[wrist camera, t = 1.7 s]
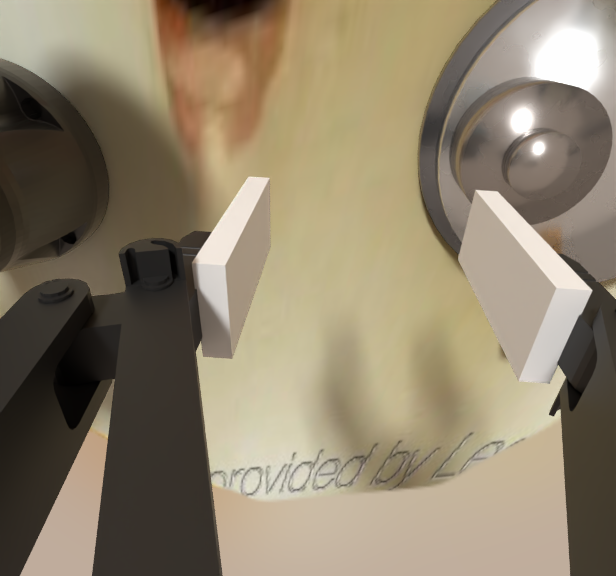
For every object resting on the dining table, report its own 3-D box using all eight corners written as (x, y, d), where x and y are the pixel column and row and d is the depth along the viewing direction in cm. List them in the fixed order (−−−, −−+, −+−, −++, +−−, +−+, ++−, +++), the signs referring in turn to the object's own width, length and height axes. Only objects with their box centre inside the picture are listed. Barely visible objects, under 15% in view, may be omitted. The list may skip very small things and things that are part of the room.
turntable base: (396, 268, 35) (398, 275, 34) (454, -70, 24) (459, -75, 23) (666, 286, 34) (676, 294, 33) (861, -56, 23) (884, -61, 22)
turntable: (401, 319, 37) (406, 341, 34) (472, -50, 24) (487, -60, 21) (636, 336, 36) (658, 360, 33) (847, -37, 23) (910, -45, 20)
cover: (437, 202, 29) (453, 231, 25) (464, 73, 25) (489, 82, 21) (555, 209, 29) (592, 240, 25) (603, 80, 25) (657, 90, 20)
